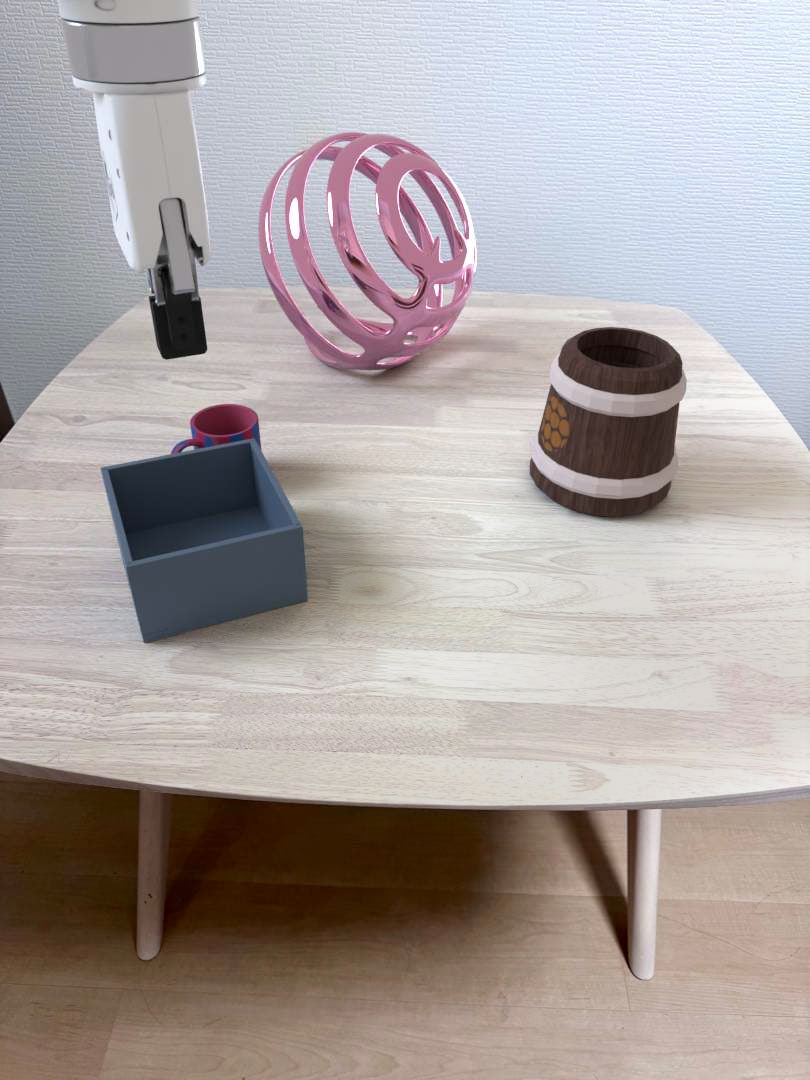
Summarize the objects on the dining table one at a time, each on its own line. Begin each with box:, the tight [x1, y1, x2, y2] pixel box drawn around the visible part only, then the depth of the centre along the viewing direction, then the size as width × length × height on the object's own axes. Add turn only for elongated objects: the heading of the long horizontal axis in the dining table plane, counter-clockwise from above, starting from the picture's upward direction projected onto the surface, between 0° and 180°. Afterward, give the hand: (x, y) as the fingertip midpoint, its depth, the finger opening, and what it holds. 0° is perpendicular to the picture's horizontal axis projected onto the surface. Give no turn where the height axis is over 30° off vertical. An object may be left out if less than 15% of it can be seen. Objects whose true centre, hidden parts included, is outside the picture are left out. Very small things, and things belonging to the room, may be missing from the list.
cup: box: [170, 403, 263, 454], centre depth 86 cm, size 7×10×7 cm
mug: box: [529, 326, 688, 518], centre depth 87 cm, size 20×15×15 cm
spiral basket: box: [257, 131, 477, 371], centre depth 105 cm, size 28×28×27 cm
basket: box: [100, 438, 309, 644], centre depth 74 cm, size 8×14×15 cm
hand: (182, 351), depth 60 cm, fingers closed
